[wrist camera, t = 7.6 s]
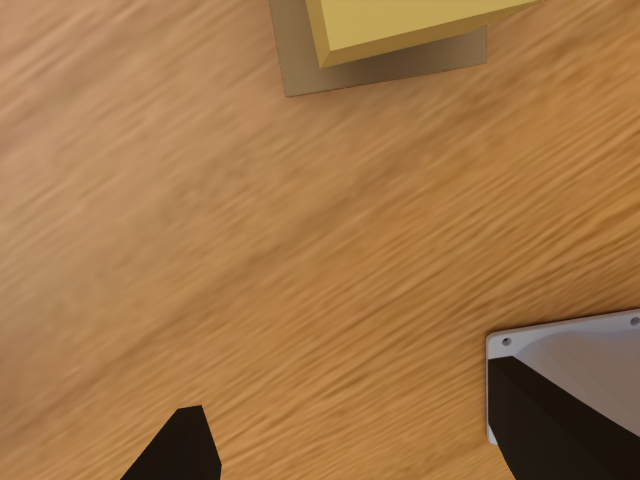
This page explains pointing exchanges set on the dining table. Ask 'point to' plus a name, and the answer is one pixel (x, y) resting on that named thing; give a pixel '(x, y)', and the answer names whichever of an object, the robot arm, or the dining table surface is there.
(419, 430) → the dining table surface
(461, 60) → the walnut base
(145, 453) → the robot arm
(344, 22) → the mustard brick
